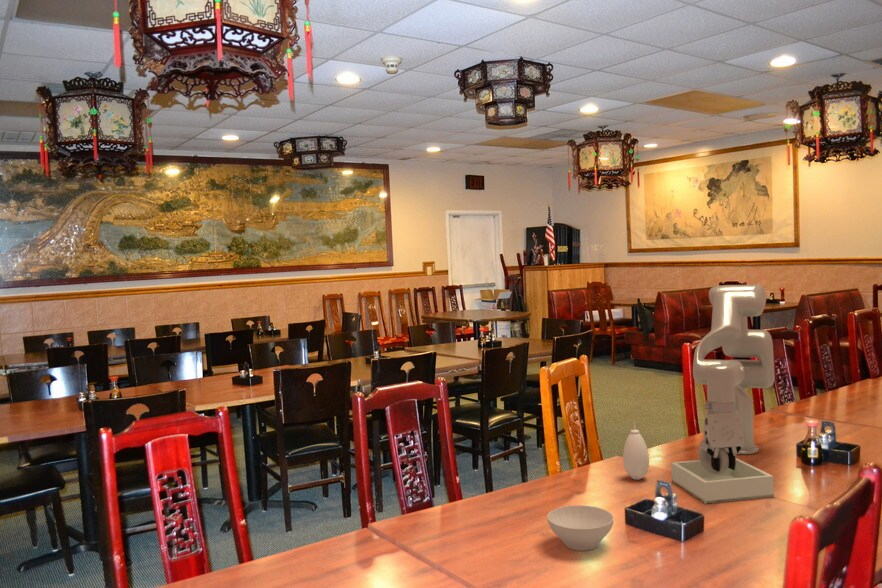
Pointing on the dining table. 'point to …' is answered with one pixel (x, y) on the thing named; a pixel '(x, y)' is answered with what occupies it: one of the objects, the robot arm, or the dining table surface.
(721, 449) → the donut
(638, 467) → the sauce bottle
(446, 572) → the dining table surface
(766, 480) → the bin
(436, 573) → the dining table surface
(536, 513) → the dining table surface
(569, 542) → the bowl
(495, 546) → the dining table surface
